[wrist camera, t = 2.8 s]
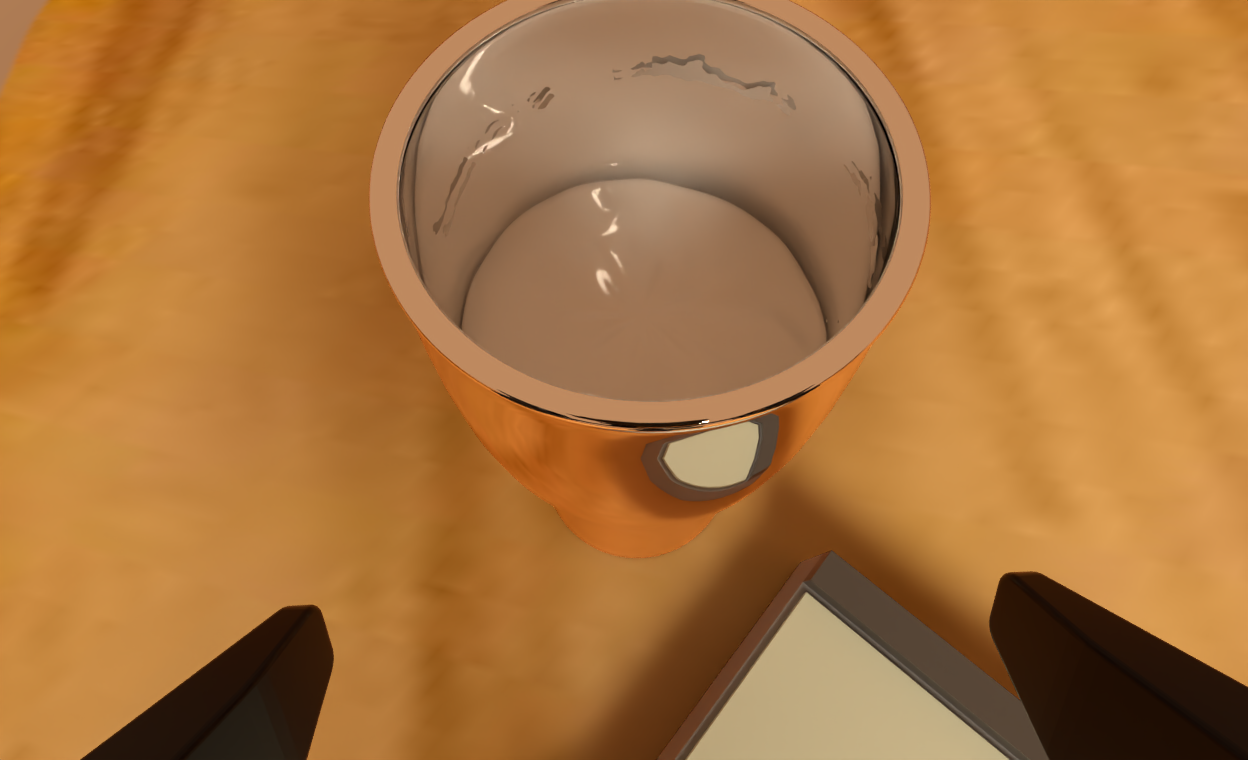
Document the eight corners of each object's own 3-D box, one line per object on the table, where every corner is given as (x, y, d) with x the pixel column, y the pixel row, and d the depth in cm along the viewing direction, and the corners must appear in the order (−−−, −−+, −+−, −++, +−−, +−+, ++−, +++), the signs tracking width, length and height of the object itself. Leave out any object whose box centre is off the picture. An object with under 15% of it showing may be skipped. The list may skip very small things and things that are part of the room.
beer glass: (660, 620, 20) (738, 602, 6) (489, 487, 21) (217, 215, 7) (779, 443, 22) (1053, 109, 8) (614, 334, 23) (593, -112, 9)
